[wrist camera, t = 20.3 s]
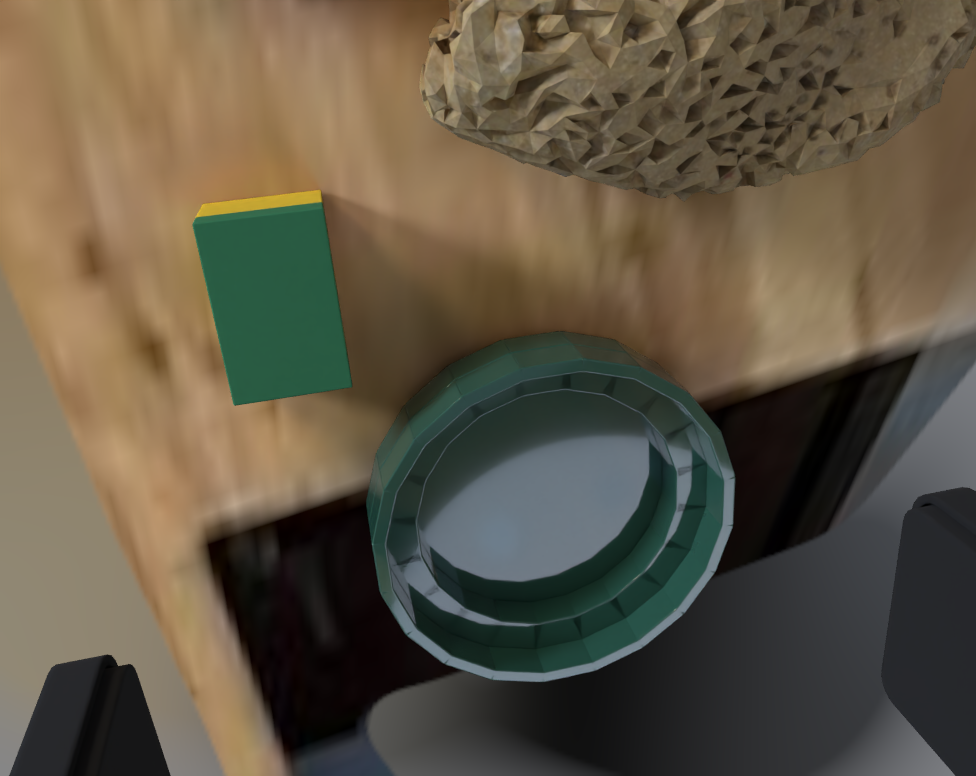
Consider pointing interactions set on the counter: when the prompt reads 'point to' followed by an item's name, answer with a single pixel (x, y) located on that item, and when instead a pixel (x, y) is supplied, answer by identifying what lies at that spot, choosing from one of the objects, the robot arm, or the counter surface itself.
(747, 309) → the counter surface
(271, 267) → the small sponge
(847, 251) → the counter surface
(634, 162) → the sponge
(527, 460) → the bowl
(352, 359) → the counter surface
